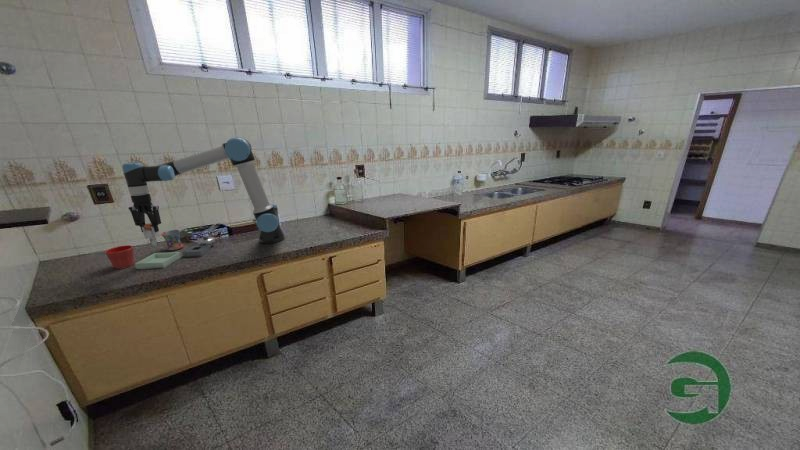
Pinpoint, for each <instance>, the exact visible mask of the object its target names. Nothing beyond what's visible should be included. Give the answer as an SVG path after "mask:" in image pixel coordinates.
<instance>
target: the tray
mask: <svg viewBox="0 0 800 450" xmlns="http://www.w3.org/2000/svg"><path fill="white" fill-rule="evenodd" d="M181 253H182V252H181V251H180V252H179V251H175V252H172V251H171V252H154V253H152V254H151V255H148V256H146V257H144V258H142V259H141V260H139V261H137V262H134V266H135V268H136V270H142V269H143V270H145V269H165V268H166V267H168V266H170V265H172V264H173V263H175V262H176V261H177V260H179V259H181V258H182V256H183V255H182V254H181Z"/></svg>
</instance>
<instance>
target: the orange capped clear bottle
mask: <svg viewBox="0 0 800 450" xmlns="http://www.w3.org/2000/svg"><path fill="white" fill-rule="evenodd" d="M151 227H152V224H151V222H149V223H145V225H144V228H145V229H147V232H148V236H149V238H148V239H149V242H150V246H151V247H152V248H153V247H154V248H155V247H157V246H158V241H157V238H156V239H154V236H153V232H152V229H151Z"/></svg>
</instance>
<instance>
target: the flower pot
mask: <svg viewBox="0 0 800 450" xmlns="http://www.w3.org/2000/svg"><path fill="white" fill-rule="evenodd" d="M104 253H105V255H106V257H107V258H108V259H109V261H110V263H111V265H112V266H113V268H115V269H118V270H119V269H124V268H125V269H126V268H128V267H129V268H130V267H131V266H133V265H135V259H134V258H135V257H134V255H135V254H134V246H133V245H128V244H127V245H121V246H119V245H118V246H116V247H112V248H109V249H107V250H105V251H104Z"/></svg>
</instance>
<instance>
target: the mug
mask: <svg viewBox="0 0 800 450" xmlns="http://www.w3.org/2000/svg"><path fill="white" fill-rule="evenodd" d="M180 233H181V230H180V229H172V230H166V231H163V232H161V233H160V234H161V236H162V237H163V239H164V240H165V242H166V243H165V244H166V251H177V250H180V249H182V248H183V247H184V244H183V243H182V241H181V239H180V236H181V235H180Z"/></svg>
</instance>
